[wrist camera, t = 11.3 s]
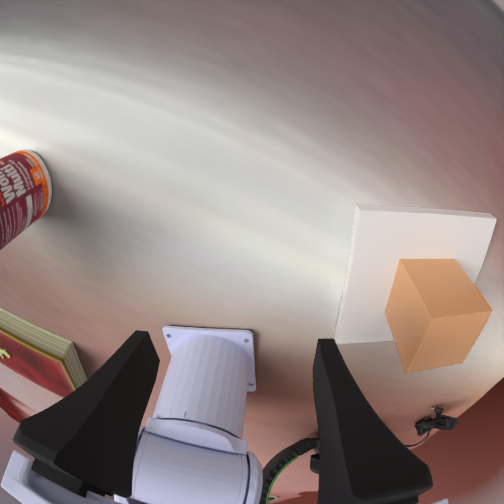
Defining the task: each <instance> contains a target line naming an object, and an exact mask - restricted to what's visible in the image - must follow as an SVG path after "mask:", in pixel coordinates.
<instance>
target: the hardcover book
mask: <svg viewBox="0 0 504 504" xmlns="http://www.w3.org/2000/svg"><path fill="white" fill-rule="evenodd" d="M0 362H1V363H2V364H4V365H5V366H7V367H9V368H10V369H12V370H13V371H15V372H17V373H18V374H20V375H22V376H24V377H25V378H27V379H29V380H31V381H32V382H34V383H36V384H38V385H40V386H42V387H43V388H45V389H47V390H49V391H51V392H53V393H55V394H57V395H59V396H61V397H63V398H65V397H66V396H68V395H69V394H70V393H72V392H73V391H74V390H76V389H77V388H78V387H80V386H81V385H82V384H83V383H84V382H86V381H87V380H88V379H87V377H86V374H85V372H84V369H83V367H82V364H81V362H80V359H79V357H78V354H77V351H76V349H75V346H74V343H73V341H70V340H68V339H65V338H63V337H61V336H58V335H56V334H54V333H51V332H49V331H47V330H45V329H42V328H40V327H38V326H36V325H34V324H32V323H30V322H28V321H26V320H23V319H21V318H19V317H17V316H16V315H14V314H12V313H10V312H8V311H6V310H4V309H2V308H0Z"/></svg>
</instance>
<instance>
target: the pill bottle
mask: <svg viewBox="0 0 504 504" xmlns="http://www.w3.org/2000/svg"><path fill="white" fill-rule="evenodd" d="M51 197H52V183H51V178H50V175H49V172H48V170H47V168H46V166H45V164H44V162H43V161H42V160H41V158H40V157H39V156H38V155H37V154H35V153H34V152H32V151H29V150H20V151H17V152H14V153H12V154H10V155H8V156H5V157H3V158H1V159H0V250H1V249H2V248H3V247H5V246H6V245H7V244H8V243H9V242H11V241H12V240H13V239H14V238H15V237H17V236H18V235H19V234H20V233H21V232H23V231H24V230H25V229H26V228H27V227H29V226H30V225H31V224H33V223H34V222H35V221H36V220H38V219H39V218H40V217H41V216H43V215H44V214H45V212H46V211H47V209H48V207H49V205H50V202H51Z"/></svg>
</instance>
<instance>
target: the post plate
mask: <svg viewBox="0 0 504 504" xmlns="http://www.w3.org/2000/svg"><path fill="white" fill-rule="evenodd" d="M496 220H497V219H496V218H495V217H494V216H493V215H491V214H490V213H481V212H471V211H460V210H449V209H436V208H422V207H406V206H387V205H365V204H356V207H355V216H354V224H353V232H352V239H351V247H350V253H349V260H348V266H347V272H346V278H345V284H344V290H343V295H342V300H341V306H340V311H339V316H338V320H337V325H336V330H335V334H334V337H335V342H336V344H350V343H367V342H381V341H393V340H394V338H393V335H392V332H391V329H390V327H389V324H388V321H387V319H386V316H385V313H384V312H385V309H386V305H387V302H388V299H389V295H390V292H391V288H392V285H393V281H394V278H395V274H396V270H397V266H398V262H399V259H453V258H454V259H455V260H456V261H457V263H458V264H459V265H460V267H461V268H462V269H463V270H464V272H465V273H466V274H467V276H468V277H469V278H470V279H471V281H472V282H473V284H475V282H476V279H477V277H478V274H479V272H480V269H481V266H482V264H483V261H484V258H485V255H486V252H487V250H488V247H489V243H490V240H491V237H492V234H493V231H494V227H495V224H496Z"/></svg>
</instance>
